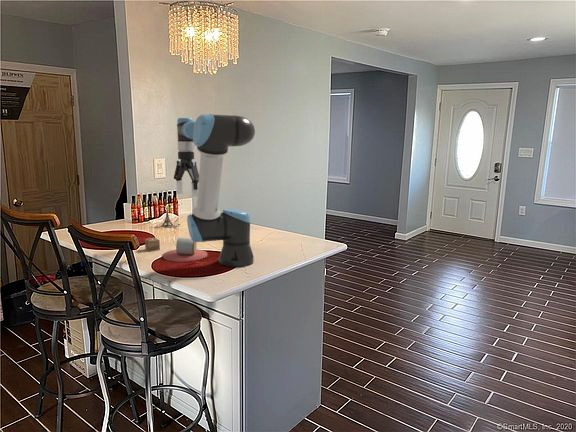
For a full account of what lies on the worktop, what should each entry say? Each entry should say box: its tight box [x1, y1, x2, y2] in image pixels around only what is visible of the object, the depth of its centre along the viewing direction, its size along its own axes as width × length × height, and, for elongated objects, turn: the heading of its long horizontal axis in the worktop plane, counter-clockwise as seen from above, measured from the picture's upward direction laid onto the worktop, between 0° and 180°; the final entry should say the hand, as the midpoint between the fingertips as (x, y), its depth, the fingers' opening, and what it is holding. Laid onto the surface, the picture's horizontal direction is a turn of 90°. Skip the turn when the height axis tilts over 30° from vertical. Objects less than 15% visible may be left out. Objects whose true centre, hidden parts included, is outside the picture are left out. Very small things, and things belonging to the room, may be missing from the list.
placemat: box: [162, 248, 208, 263], centre depth 200 cm, size 20×20×1 cm
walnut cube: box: [144, 237, 161, 252], centre depth 209 cm, size 5×5×5 cm
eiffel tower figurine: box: [161, 206, 181, 229], centre depth 260 cm, size 15×10×13 cm
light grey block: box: [175, 237, 197, 255], centre depth 201 cm, size 11×8×8 cm
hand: (187, 195), depth 213 cm, fingers open, 13 cm apart
